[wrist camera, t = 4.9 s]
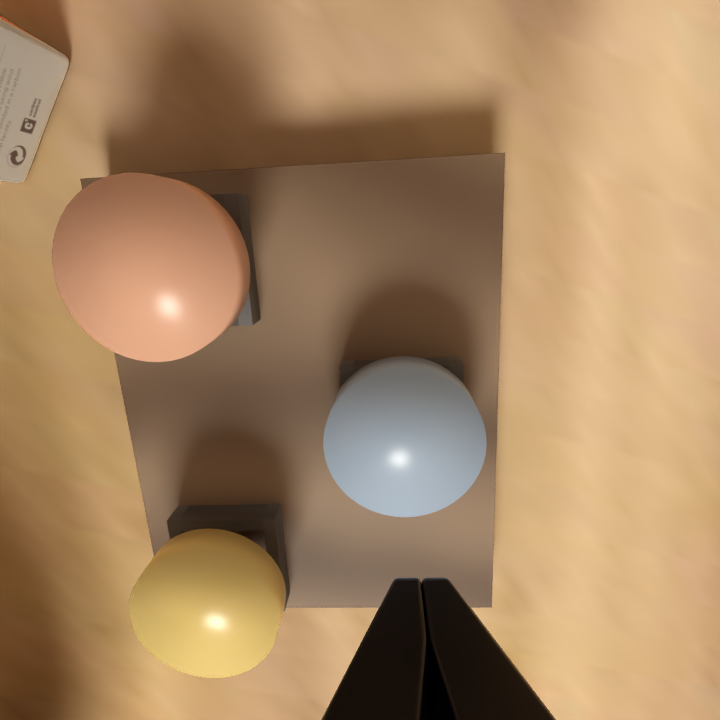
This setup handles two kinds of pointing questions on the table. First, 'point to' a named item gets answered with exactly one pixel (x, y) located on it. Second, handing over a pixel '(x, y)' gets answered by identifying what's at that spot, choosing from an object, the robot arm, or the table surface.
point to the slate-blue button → (404, 437)
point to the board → (330, 370)
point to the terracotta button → (150, 266)
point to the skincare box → (25, 96)
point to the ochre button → (209, 603)
